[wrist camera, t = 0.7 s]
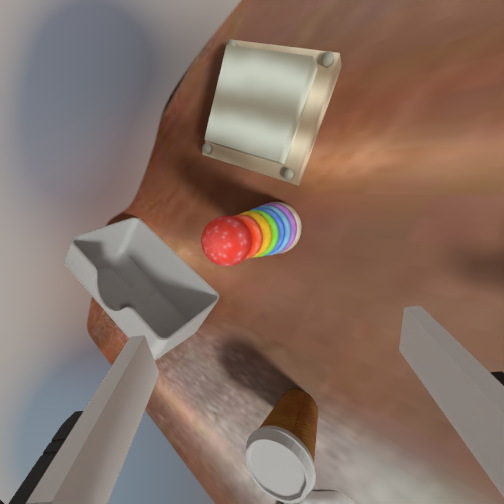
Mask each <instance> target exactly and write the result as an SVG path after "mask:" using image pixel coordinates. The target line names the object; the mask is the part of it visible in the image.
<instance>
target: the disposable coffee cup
mask: <svg viewBox="0 0 504 504" xmlns="http://www.w3.org/2000/svg"><path fill="white" fill-rule="evenodd" d="M317 421H318V407H317V405H316V403H315V401H314V400H313V398H312V397H311V396H309V395H308V394H307V393H305V392H303V391H301V390H297V389H292V390H289V391H287V392H285V393H284V395H283V396H282V398H281V399H280V400H279V402H278V403H277V404H276V406H275V407H274V408H273V410H272V411H271V413H270V414H269V415H268V417H267V418H266V419H265V421H264V422H263V424H262V425H261V426H260V428H259V429H257V430H256V431H254V432H253V433H252V434H251V435H250V437H249V439H248V441H247V447H246V448H247V451H246V465H247V468H248V471H249V473H250V475H251V477H252V479H253V480H254V481H255V483H256V484H257V485H258V487H259V488H260V489H262V490H263V491H264V492H265V493H266V494H267V495H269V496H271V497H272V498H274V499H275V500H278V501H281V502H284V503H291V504H292V503H298V502H300V501H302V500H303V499H304V498H305V497H306V496H307V494H308V493H309V492H310V491H311V490H312V488H313V487H314V484H315V480H316V472H315V468H314V456H315V444H316V433H317Z"/></svg>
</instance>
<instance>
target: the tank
mask: <svg viewBox="0 0 504 504" xmlns="http://www.w3.org/2000/svg"><path fill="white" fill-rule="evenodd" d="M64 264H65V265H66V266H67V267H68V268H69V270H70V271H71V272H72V273H73V274H74V275H75V277H76V278H77V279H78V280H79V281H80V282H81V284H82V285H83V286H84V287H85V288H86V289H87V290H88V292H89V293H90V294H91V295H92V296H93V297H94V299H95V300H96V301H97V302H98V303H99V304H100V305H101V307H102V308H103V309H104V310H105V311H106V312H107V314H108V315H109V316H110V317H111V318H112V319H113V320H114V322H115V323H116V324H117V325H118V326H119V327H120V329H121V330H122V331H123V332H124V333H125V334H126V335H127V337H128V338H130V337H132V336H142V335H145V337H146V340H147V342H148V345H149V348H150V350H151V353H152V356H153V358H154V360H155V359H158V358H159V357H161V356H162V355H164V354H165V353H167V352H168V351H170V350H171V349H172V348H174V347H175V346H177V345H178V344H180V343H181V342H183V341H184V340H185V339H187V338H188V337H190V336H191V335H193V334H194V333H196V331H197V330H198V328H199V327H200V326H201V324H202V323H203V321H204V320H205V318H206V317H207V316H208V314H209V313H210V311H211V310H212V308H213V307H214V305H215V304H216V303H217V301H218V300H219V294H218V293H217V292H216V291H215V290H214V289H213V288H212V287H211V286H210V285H209V284H208V283H207V282H205V281H204V280H203V279H202V278H201V277H200V276H199V275H198V274H197V273H196V272H195V271H194V270H193V269H192V268H191V267H190V266H189V265H188V264H187V263H186V262H185V261H183V260H182V259H181V258H180V257H179V256H178V255H177V254H176V253H175V252H174V251H173V250H172V249H171V248H170V247H169V246H168V245H167V244H166V243H165V242H164V241H162V240H161V239H160V238H159V237H158V236H157V235H156V234H155V233H154V232H153V231H152V230H151V229H150V228H149V227H148V226H147V225H146V224H145V223H144V222H143V221H142V220H140V219H139V218H129V219H126V220H123V221H120V222H117V223H114V224H111V225H108V226H105V227H102V228H99V229H96V230H93V231H89V232H86V233H83V234H81V235H77V236H75V237H74V238H72V240H71V243H70V246H69V249H68V251H67V254H66V257H65V260H64Z"/></svg>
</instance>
